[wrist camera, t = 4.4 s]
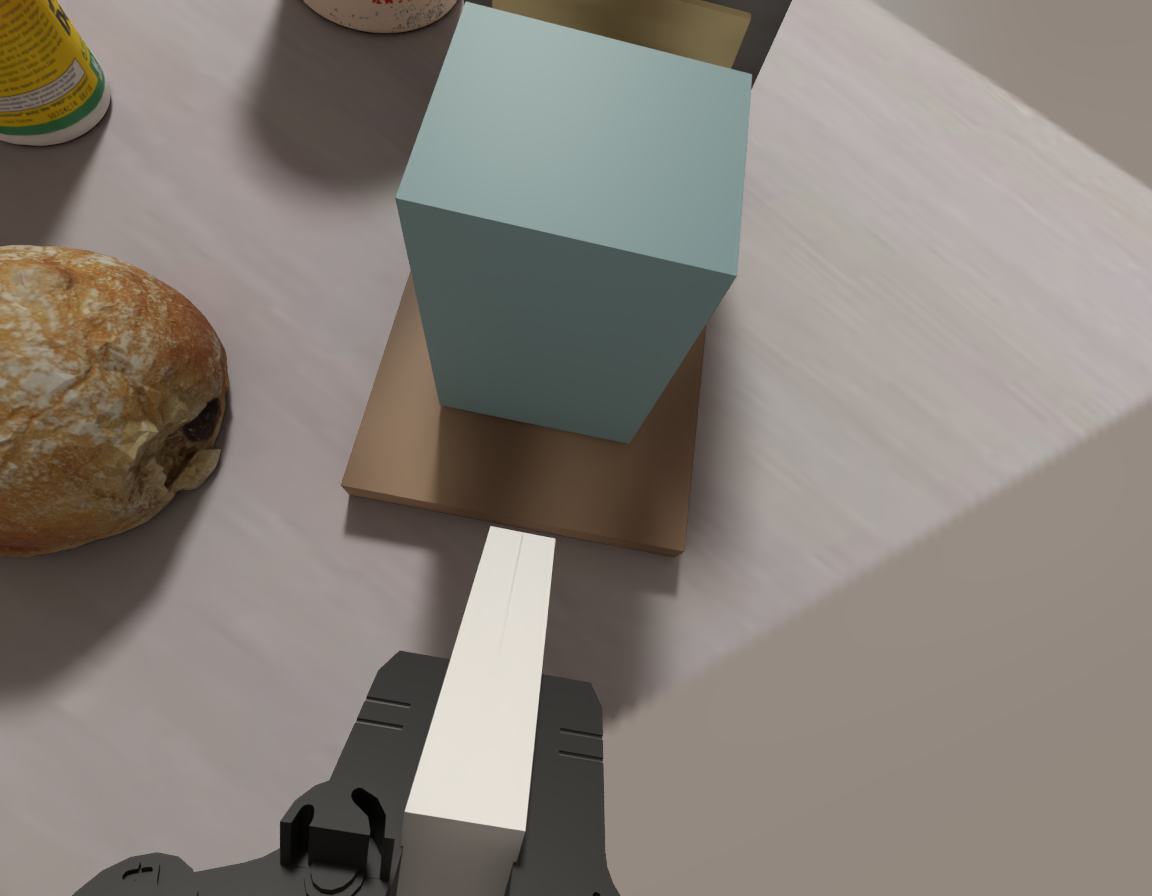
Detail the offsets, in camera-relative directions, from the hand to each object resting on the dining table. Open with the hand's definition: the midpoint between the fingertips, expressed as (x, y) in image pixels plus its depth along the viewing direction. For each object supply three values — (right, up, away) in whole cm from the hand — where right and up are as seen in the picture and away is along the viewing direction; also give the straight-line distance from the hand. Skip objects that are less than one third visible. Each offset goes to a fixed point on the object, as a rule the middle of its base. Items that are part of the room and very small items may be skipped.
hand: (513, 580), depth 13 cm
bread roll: (-16, +4, +7) cm, 18 cm away
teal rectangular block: (0, +7, +8) cm, 11 cm away
